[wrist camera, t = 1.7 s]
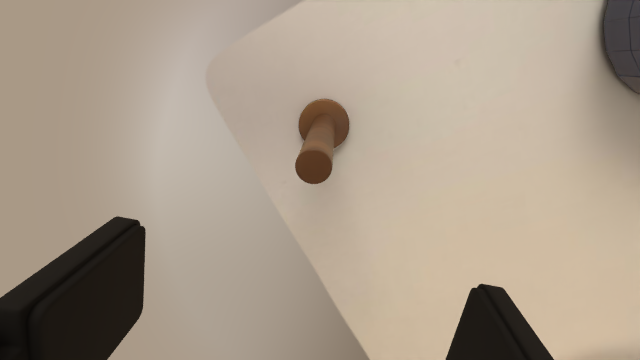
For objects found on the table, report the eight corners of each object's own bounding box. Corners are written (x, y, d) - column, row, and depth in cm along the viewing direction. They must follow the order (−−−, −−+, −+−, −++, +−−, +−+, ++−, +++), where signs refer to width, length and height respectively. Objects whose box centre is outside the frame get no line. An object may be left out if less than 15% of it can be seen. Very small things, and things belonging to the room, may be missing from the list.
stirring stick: (289, 117, 33) (256, 156, 20) (330, 88, 32) (323, 109, 19) (318, 157, 34) (304, 218, 21) (358, 130, 33) (370, 177, 20)
